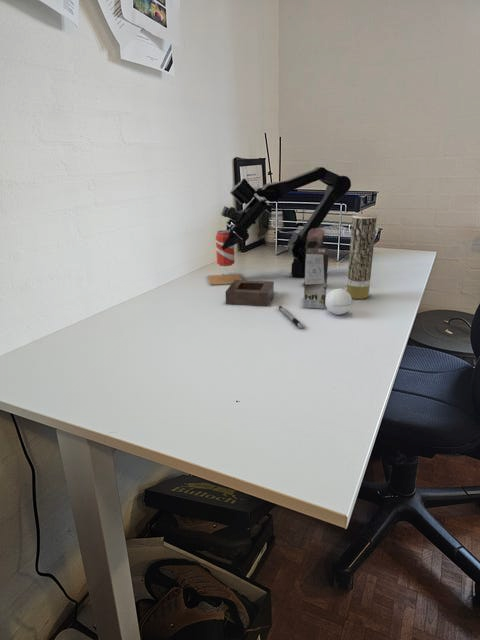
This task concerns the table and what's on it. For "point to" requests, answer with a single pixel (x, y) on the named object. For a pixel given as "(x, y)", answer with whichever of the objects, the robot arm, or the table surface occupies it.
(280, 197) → the robot arm
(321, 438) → the table surface
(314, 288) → the coffee box
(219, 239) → the beverage can
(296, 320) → the pen
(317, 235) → the statue
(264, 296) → the stand
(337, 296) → the seamed sphere
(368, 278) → the bark patterned cylinder
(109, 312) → the table surface
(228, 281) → the cork mat
